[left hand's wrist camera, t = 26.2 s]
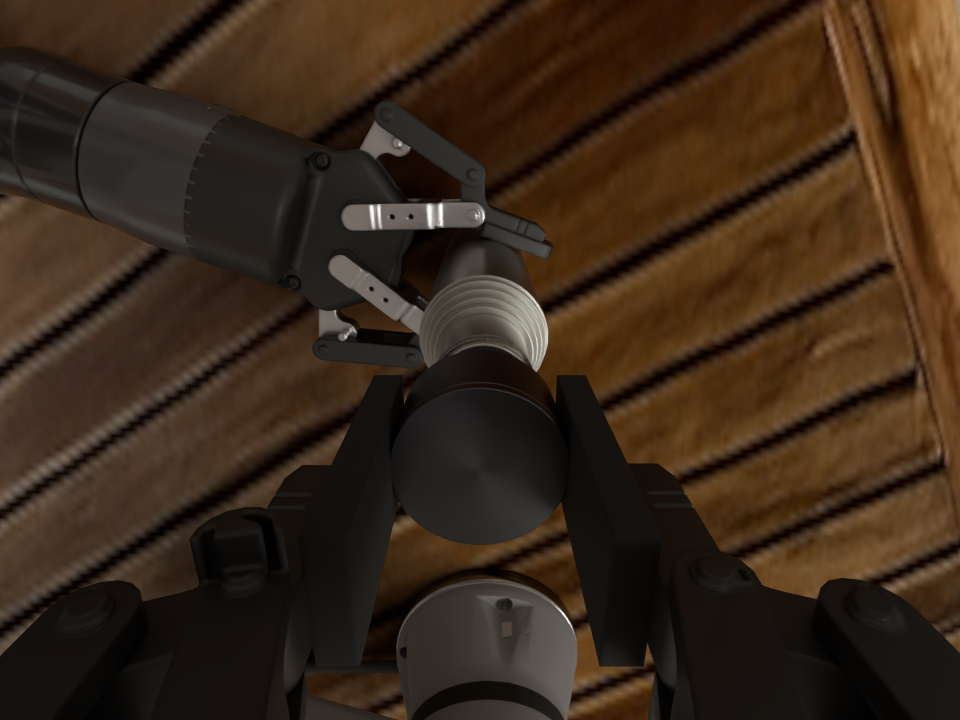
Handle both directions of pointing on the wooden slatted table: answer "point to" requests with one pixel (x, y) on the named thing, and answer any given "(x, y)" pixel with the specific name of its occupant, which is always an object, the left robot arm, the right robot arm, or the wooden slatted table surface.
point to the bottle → (483, 303)
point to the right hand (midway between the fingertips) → (528, 297)
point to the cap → (479, 449)
